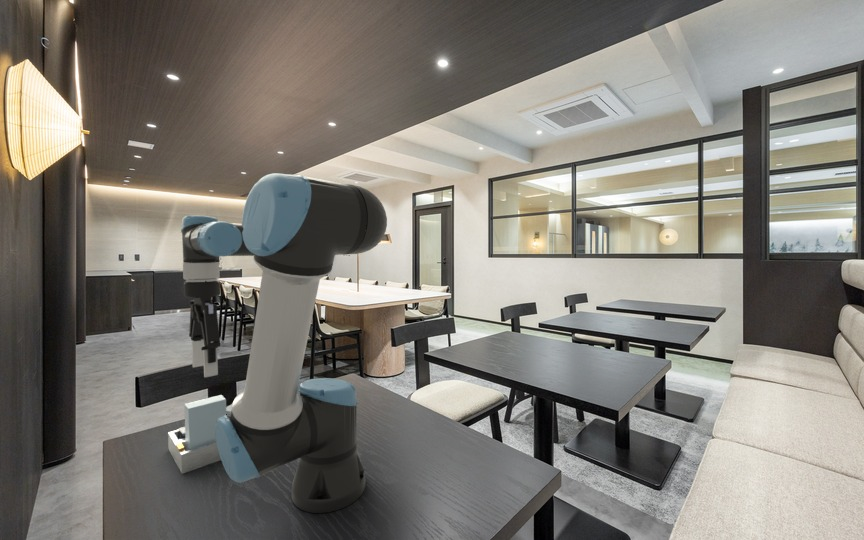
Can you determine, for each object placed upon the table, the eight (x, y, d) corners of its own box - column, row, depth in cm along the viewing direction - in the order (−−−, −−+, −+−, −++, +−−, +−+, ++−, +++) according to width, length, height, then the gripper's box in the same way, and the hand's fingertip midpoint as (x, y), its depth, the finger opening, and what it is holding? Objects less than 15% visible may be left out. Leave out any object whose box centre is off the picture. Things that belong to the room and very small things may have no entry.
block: (227, 446, 92) (226, 399, 91) (189, 458, 86) (188, 408, 86) (222, 440, 95) (221, 394, 94) (185, 452, 89) (184, 403, 88)
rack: (238, 453, 92) (237, 432, 92) (181, 473, 84) (181, 450, 83) (220, 433, 103) (219, 414, 103) (168, 449, 94) (167, 428, 94)
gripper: (234, 281, 83) (236, 377, 84) (206, 277, 99) (209, 358, 100) (196, 283, 78) (199, 386, 79) (173, 279, 94) (176, 364, 95)
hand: (204, 370), depth 90 cm, fingers open, 10 cm apart
